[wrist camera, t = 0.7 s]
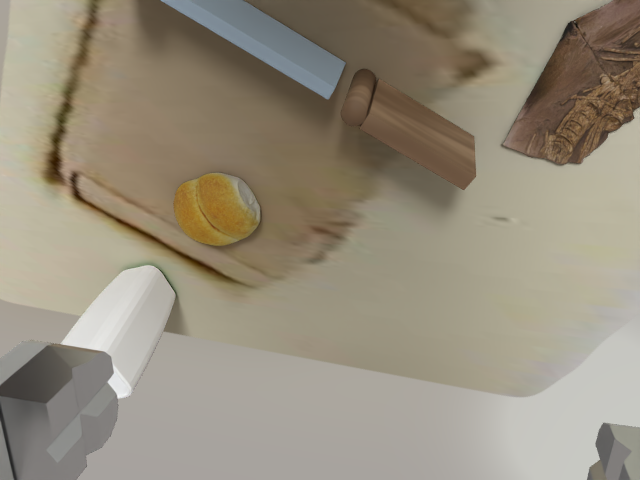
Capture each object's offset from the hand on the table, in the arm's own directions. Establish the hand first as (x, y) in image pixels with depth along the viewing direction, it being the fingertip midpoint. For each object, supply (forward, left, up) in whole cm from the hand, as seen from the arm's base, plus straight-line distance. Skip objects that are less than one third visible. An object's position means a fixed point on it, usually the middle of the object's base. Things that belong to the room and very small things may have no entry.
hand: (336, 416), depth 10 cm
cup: (+48, -7, -44) cm, 66 cm away
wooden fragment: (-2, +19, -44) cm, 48 cm away
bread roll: (+32, -4, -44) cm, 55 cm away
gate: (+12, -9, -43) cm, 46 cm away
